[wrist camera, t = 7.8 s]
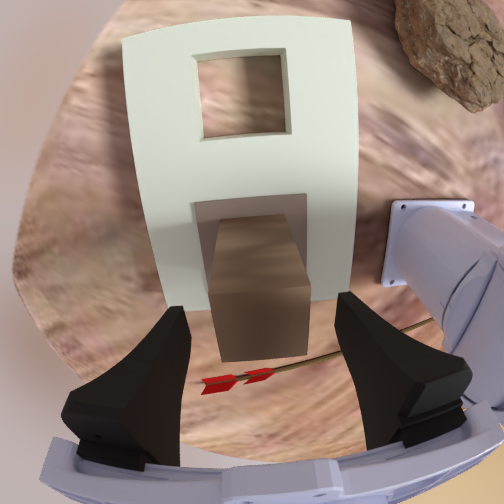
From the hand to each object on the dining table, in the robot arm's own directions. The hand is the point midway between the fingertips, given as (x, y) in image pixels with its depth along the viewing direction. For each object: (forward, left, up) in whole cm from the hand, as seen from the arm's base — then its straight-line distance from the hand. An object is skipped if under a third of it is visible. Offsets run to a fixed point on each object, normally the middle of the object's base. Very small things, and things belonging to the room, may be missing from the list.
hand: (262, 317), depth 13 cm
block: (0, 0, -7) cm, 7 cm away
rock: (-16, -16, -10) cm, 25 cm away
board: (0, -5, -10) cm, 11 cm away
